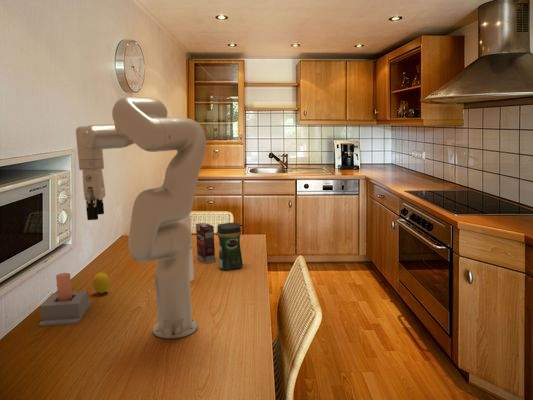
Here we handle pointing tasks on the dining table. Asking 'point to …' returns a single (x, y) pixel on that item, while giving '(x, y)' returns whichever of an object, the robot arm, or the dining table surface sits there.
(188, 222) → the cylindrical container
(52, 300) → the socket
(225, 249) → the coffee jar
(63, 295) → the peg
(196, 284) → the dining table surface
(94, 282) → the lemon
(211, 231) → the supplement box
